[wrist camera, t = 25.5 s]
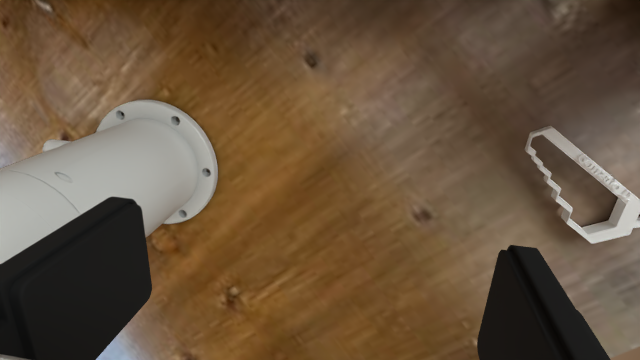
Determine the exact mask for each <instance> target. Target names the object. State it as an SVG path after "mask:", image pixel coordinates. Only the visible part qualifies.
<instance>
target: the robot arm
mask: <svg viewBox="0 0 640 360" xmlns="http://www.w3.org/2000/svg"><path fill="white" fill-rule="evenodd" d="M178 118H179V120H180V121H179V120H178ZM208 169H209V170H210V171H209V170H208ZM217 180H218V166H217V160H216V155H215V153H214V150H213V147H212V145H211V143H210V141H209V139H208V137H207V136H206V134H205V132H204V131H203V130H202V129H201V127H200V126H199V125H198V124H197V123H196V122H195V121H194V120H193V119H192V118H191V117H190V116H188V115H187V114H186V113H185V112H183V111H181V110H180V109H178V108H176V107H175V106H172V105H170V104H167V103H165V102H161V101H156V100H136V101H132V102H128V103H125V104H122V105H120V106H118V107H116V108H114V109H113V110H111V111H110V112H109V113H108V114H107V115H106V116H105V117H104V118H103V119H102V121H101V123H100V124H99V126H98V128H97V131H96V133H94V134H91V135H89V136H86V137H83V138H81V139H78V140H75V141H73V142H69V141H62V140H53V139H50V140H47V141H46V142H45V143H44V146H43V153H40V154H38V155H35V156H32V157H30V158H27V159H24V160H22V161H19V162H16V163H13V164H11V165H8V166H5V167H3V168H0V360H96V358H97V357H98V356H99V355H100V354H101V353H102V352H103V351H104V349H105V348H106V347H107V346H108V345H109V344H110V343H111V341H112V340H113V339H114V338H115V337H116V336H117V335H118V334H119V332H120V331H121V330H122V329H123V328H124V327H125V326H126V325H127V323H128V322H129V321H130V320H131V319H132V318H133V317H134V315H135V314H136V313H137V312H138V311H139V310H140V309H141V308H142V306H143V305H144V304H145V303H146V302H147V301H148V299H149V297H150V295H151V291H152V284H151V276H150V268H149V261H148V253H147V245H146V237H147V236H149V235H150V234H151V233H152V232H153V231H154V230H155V229H157V228H158V227H159V226H160V225H161V224H173V223H180V222H183V221H185V220H188V219H190V218H192V217H193V216H195V215H196V214H198V213H199V212H200V211H201V210H202V209H203V208H204V207H205V206H206V205H207V204H208V202H209V201H210V200H211V198H212V196H213V194H214V191H215V189H216V184H217ZM477 348H478V355H479V359H480V360H610V358H609V357H608V355H607V353H606V352H605V350H604V349H603V347H602V346H601V344H600V343H599V341H598V339H597V338H596V336H595V335H594V333H593V332H592V330H591V328H590V327H589V325H588V324H587V322H586V321H585V319H584V318H583V316H582V315H581V313H580V312H579V311H578V310H576V309H575V307H574V306H573V304H572V302H571V301H570V299H569V298H568V296H567V295H566V293H565V291H564V290H563V288H562V287H561V285H560V283H559V282H558V280H557V279H556V277H555V276H554V274H553V272H552V271H551V269H550V268H549V266H548V265H547V263H546V261H545V260H544V258H543V257H542V255H541V254H540V252H539V250H538V249H537V248H531V247H523V246H515V245H510V246H509V247H508V249H507V250H501V251H500V252H499V255H498V258H497V262H496V266H495V270H494V274H493V278H492V283H491V287H490V291H489V295H488V299H487V303H486V307H485V311H484V315H483V319H482V323H481V327H480V331H479V335H478V342H477Z"/></svg>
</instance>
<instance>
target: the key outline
mask: <svg viewBox="0 0 640 360" xmlns="http://www.w3.org/2000/svg"><path fill="white" fill-rule="evenodd" d="M539 135H543V136H545V137H546V138H547V139H548V140H549V141H551V142H552V143H553V144H554V145H556V146H557V147H558V148H559V149H560V150H562V151H563V152H564V153H565V154H566V155H568V156H569V157H570V158H571V159H572V160H574V161H575V162H576V163H577V164H578V165H580V166H581V167H582V168H583V169H584V170H586V171H587V172H588V173H589V174H590V175H592V176H593V177H594V178H595V179H596V180H598V181H599V182H600V183H601V184H602V185H604V186H605V187H606V188H607V189H609V190H610V191H611V192H612V193H613V194H615V195H616V196H617V197H618V199H617V202H616V204H615V206H614V209H613V211H612V213H611V216H610V218H609V220H608V221H604V222H600V223H596V224H592V225H589V226H585V227H580V226H579V225H577V224H576V223H575V222H574V221H572V220H571V219H570V215H571V212H572V210H573V208H572V207H571V206H570V205H569V204H568V203H567V202H566V201H565V200H563V199H562V198H561V197H560V196H559V194H560V191H561V188H560V187H559V186H558V185H557V184H556V183H555V182H553V181H552V180H551V179H550V177H551V174H552V173H551V172H550V171H549V170H548V169H546V168H545V167H544V166H542V165H543V162H542V161H541V160H540V159H538V158H537V157H536V156H535V154H536V151H535V150H534V149H533V148H532V147H530V144H531V141H532V138H533V137H536V136H539ZM525 151H526V152H527V153H529V154H530V155H531V156H532V157H531V159H532V160H533V161H534V162H535V163H536V164H537V168H538V169H539V170H541V171H542V172H543V173H544V174H545V175H544V178H543V179H544V180H545V182H546V183H548V184H549V185H550V186H551V187H553V191H552V194H551V196H552V197H553V198H554V199H555V201H557V202H558V203H559V204H560V205H562V206H563V207H564V209H563V212H562V215H561V218H562V219H563V220H564V221H565V222H566V223H567V224H568V225H569V226H570V227H572V228H573V229H574V230H575V231H577V232H578V233H579V234H580V235H582V236H583V237H584V238H585V239H587V240H588V241H589V242H590V243H592V244H593V243H597V242H602V241H606V240H610V239H614V238H618V237H622V236H626V235H630V234H631V231H632V229H633V228H638V227H640V217H639V218H638V216H639V214H640V199H638V198H637V197H636V196H635V195H634V194H632V193H631V192H630V191H629V190H628V189H626V188H625V187H624V186H623V185H622V184H620V183H619V182H618V181H617V180H616V179H614V178H613V177H612V176H611V175H610V174H608V173H607V172H606V171H605V170H604V169H602V168H601V167H600V166H599V165H598V164H596V163H595V162H594V161H593V160H592V159H590V158H589V157H588V156H587V155H585V154H584V153H583V152H582V151H581V150H579V149H578V148H577V147H576V146H575V145H573V144H572V143H571V142H570V141H569V140H567V139H566V138H565V137H564V136H563V135H561V134H560V133H559V132H558V131H557V130H555V129H554V128H553V127H551V126H547V127H544V128H541V129H538V130H535V131H532V132H530V134H529V137H528V141H527V144H526V147H525Z"/></svg>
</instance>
